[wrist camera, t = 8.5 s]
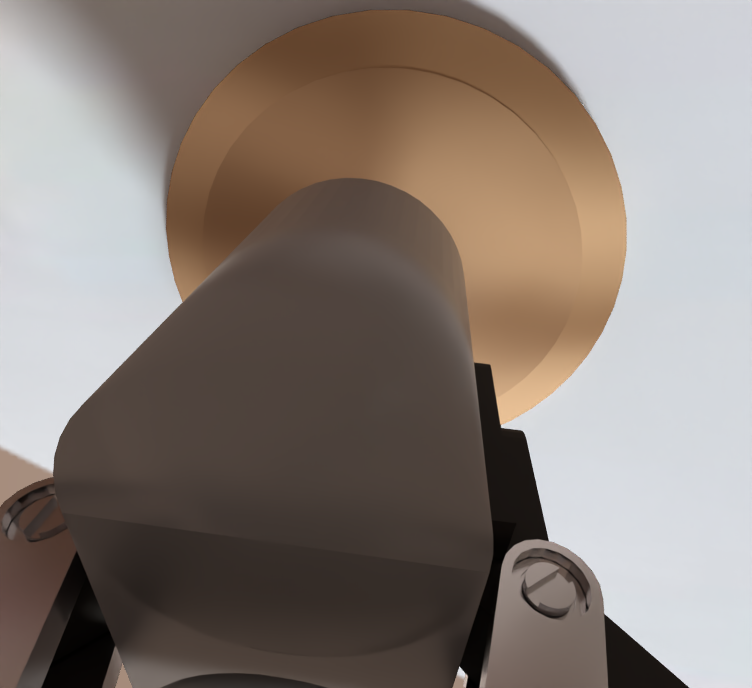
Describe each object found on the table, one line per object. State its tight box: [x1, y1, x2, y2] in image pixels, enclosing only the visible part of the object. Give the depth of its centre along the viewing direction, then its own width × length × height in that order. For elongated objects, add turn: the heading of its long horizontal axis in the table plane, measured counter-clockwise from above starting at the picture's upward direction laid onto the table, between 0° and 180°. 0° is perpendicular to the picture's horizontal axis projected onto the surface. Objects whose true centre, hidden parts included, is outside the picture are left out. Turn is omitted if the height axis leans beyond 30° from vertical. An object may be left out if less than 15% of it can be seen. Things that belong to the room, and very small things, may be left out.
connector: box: [53, 178, 493, 688], centre depth 9 cm, size 12×4×6 cm, turn 176°
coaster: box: [166, 10, 626, 425], centre depth 16 cm, size 14×14×1 cm
